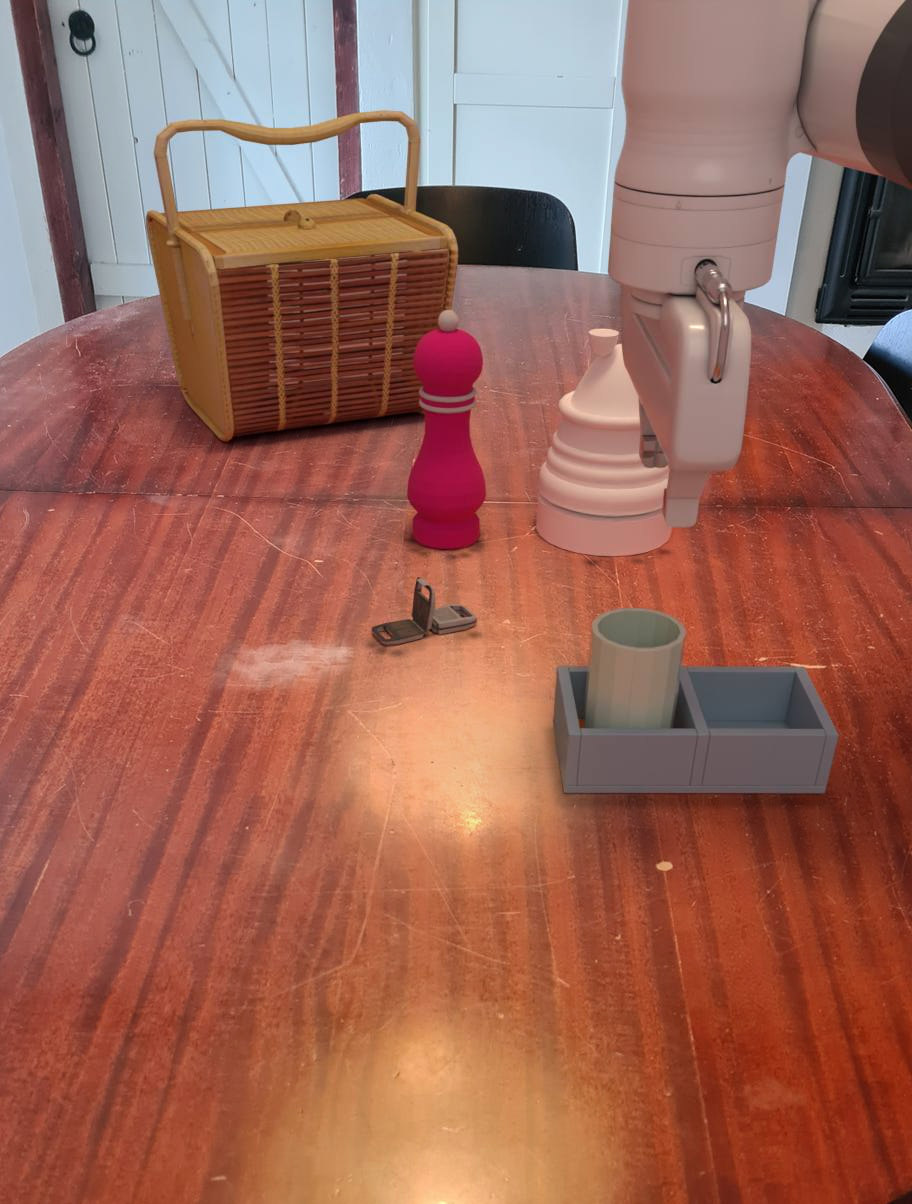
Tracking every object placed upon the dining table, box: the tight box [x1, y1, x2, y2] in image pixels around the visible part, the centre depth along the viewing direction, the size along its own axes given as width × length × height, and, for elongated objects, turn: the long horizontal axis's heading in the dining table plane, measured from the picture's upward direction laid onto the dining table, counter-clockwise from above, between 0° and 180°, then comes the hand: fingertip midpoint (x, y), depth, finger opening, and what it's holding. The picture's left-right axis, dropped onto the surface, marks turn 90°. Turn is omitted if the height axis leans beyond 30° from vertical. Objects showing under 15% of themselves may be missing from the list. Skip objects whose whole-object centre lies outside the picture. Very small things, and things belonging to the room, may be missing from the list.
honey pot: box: [535, 328, 673, 557], centre depth 112 cm, size 13×13×18 cm
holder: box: [552, 665, 840, 794], centre depth 84 cm, size 17×9×5 cm, turn 90°
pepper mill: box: [406, 309, 487, 550], centre depth 110 cm, size 7×7×20 cm
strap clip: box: [371, 576, 478, 645], centre depth 99 cm, size 8×3×4 cm, turn 116°
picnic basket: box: [145, 109, 459, 443], centre depth 136 cm, size 29×26×30 cm
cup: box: [582, 607, 687, 729], centre depth 82 cm, size 6×6×9 cm
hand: (665, 492), depth 75 cm, fingers open, 8 cm apart
